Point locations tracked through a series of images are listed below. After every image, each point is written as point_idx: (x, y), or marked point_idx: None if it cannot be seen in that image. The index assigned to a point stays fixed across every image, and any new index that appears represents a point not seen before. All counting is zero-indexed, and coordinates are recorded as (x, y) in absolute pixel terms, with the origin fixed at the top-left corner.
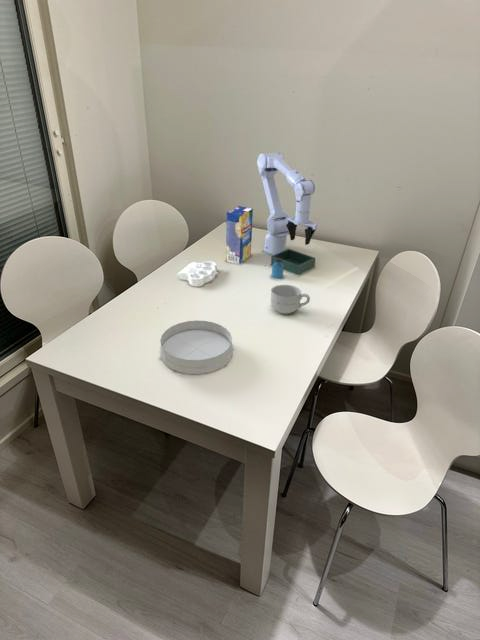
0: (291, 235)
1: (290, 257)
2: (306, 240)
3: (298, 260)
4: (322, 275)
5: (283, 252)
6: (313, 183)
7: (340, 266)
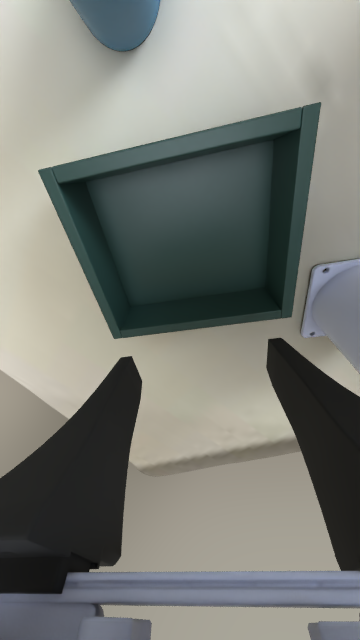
0: (291, 368)
1: (252, 292)
2: (102, 384)
3: (204, 299)
4: (48, 285)
5: (285, 260)
6: None
7: (96, 377)
